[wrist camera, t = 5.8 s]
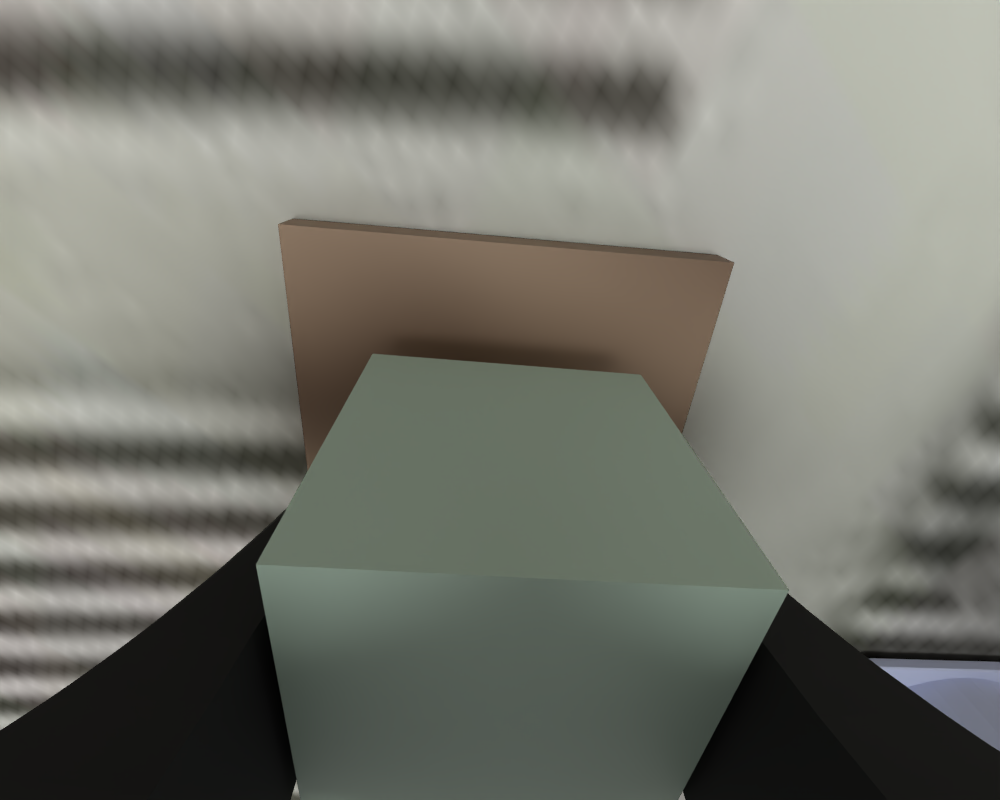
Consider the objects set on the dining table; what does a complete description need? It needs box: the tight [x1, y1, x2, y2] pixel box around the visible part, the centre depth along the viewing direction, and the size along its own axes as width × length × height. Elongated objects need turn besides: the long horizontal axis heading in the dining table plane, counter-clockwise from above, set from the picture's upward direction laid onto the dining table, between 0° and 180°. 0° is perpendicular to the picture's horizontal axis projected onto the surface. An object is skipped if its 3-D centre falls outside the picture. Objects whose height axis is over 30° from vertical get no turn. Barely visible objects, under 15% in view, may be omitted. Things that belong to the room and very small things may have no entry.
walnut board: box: [278, 219, 734, 470], centre depth 12 cm, size 9×9×1 cm
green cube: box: [256, 354, 789, 800], centre depth 8 cm, size 5×5×5 cm
